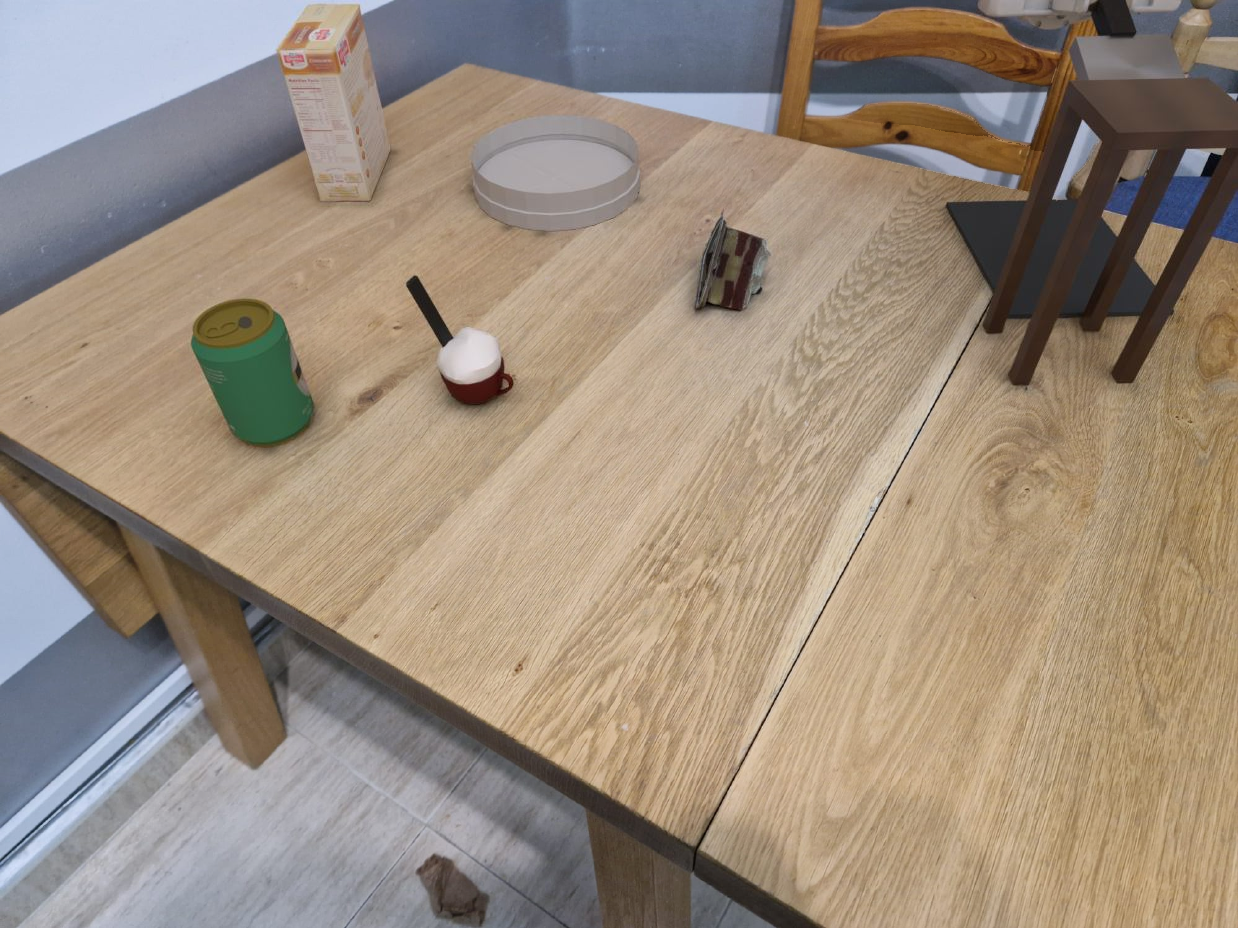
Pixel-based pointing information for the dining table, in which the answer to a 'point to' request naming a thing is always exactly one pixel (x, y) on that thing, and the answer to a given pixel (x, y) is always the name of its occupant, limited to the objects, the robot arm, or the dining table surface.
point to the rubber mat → (1045, 256)
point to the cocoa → (464, 355)
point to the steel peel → (1122, 49)
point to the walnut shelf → (1130, 122)
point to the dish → (555, 172)
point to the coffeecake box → (336, 100)
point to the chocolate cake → (731, 267)
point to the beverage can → (253, 371)
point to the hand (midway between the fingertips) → (1110, 3)
